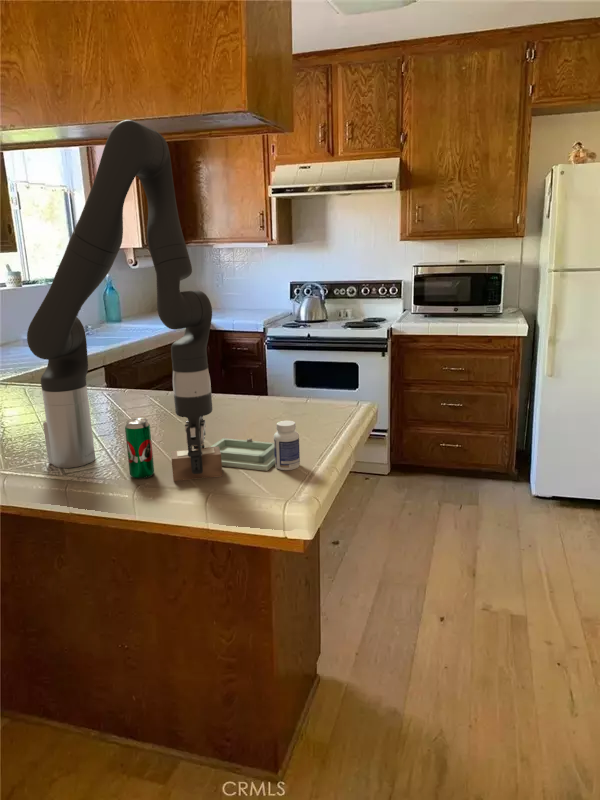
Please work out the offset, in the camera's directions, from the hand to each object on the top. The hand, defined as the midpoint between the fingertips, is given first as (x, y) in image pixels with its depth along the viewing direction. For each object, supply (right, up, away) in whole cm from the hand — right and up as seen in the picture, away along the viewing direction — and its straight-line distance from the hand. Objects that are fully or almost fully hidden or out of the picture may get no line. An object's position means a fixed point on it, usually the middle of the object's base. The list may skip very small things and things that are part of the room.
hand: (198, 465), depth 129 cm
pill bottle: (+19, -1, +3) cm, 19 cm away
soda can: (-12, -2, +1) cm, 12 cm away
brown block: (0, -2, 0) cm, 2 cm away
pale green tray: (+8, +1, +9) cm, 12 cm away
